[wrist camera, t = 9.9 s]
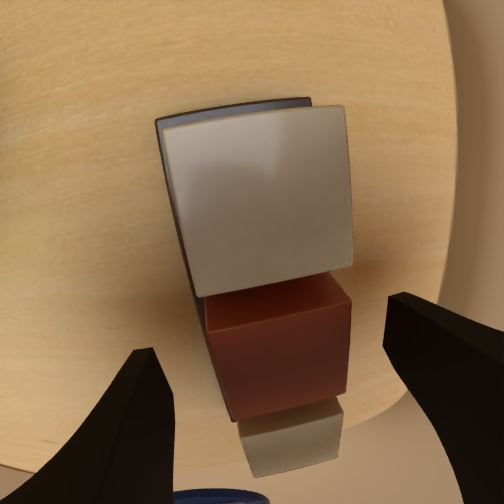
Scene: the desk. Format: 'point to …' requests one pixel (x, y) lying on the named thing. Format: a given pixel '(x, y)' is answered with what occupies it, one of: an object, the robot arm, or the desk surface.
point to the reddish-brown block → (280, 343)
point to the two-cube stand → (263, 232)
